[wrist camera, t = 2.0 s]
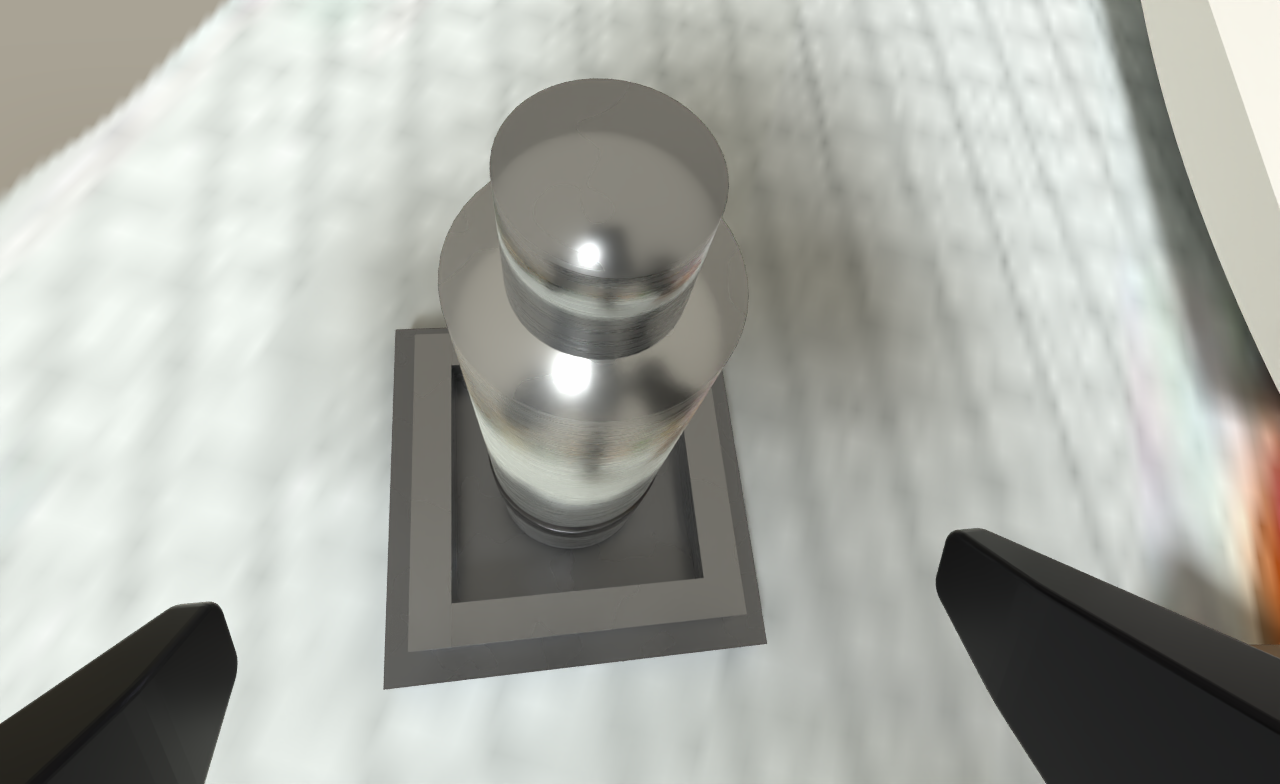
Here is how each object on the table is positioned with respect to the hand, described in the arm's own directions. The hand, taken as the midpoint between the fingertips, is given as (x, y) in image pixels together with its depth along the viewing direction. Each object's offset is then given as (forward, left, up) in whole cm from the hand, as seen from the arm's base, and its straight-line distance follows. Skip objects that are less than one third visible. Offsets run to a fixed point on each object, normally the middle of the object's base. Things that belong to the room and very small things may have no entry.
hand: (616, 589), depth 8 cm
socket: (+3, +2, -11) cm, 12 cm away
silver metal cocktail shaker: (+3, +2, -10) cm, 11 cm away
